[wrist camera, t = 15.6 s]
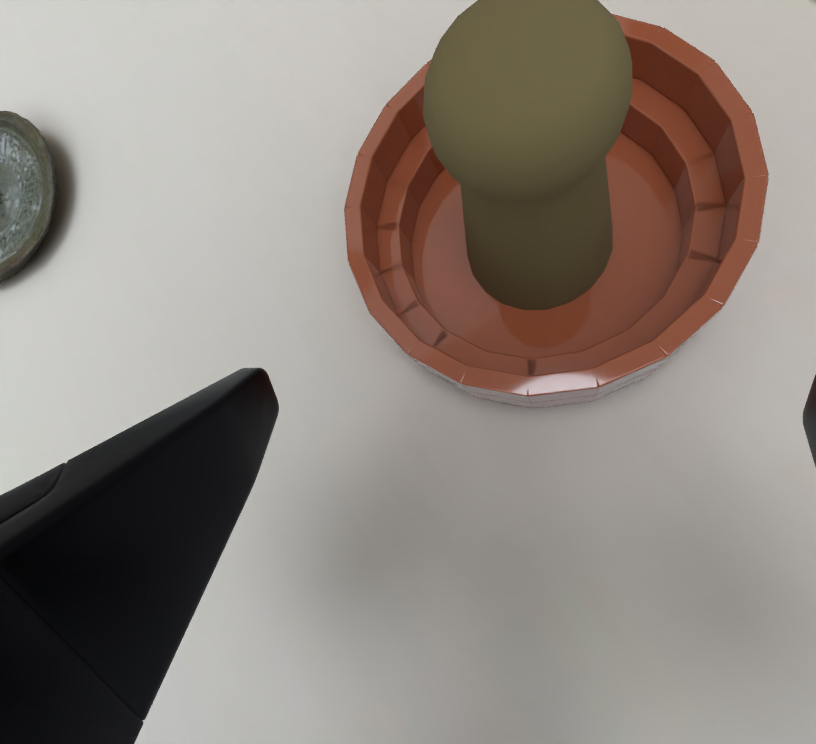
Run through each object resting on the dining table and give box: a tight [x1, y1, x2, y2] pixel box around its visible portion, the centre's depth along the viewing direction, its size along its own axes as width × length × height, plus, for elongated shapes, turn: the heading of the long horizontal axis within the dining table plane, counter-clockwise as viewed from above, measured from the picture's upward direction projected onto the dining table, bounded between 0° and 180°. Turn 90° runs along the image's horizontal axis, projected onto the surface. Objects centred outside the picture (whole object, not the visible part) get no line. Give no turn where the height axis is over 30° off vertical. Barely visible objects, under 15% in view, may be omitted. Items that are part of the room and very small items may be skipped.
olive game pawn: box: [423, 0, 632, 310], centre depth 17 cm, size 6×6×11 cm
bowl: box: [344, 14, 769, 408], centre depth 21 cm, size 14×14×4 cm
